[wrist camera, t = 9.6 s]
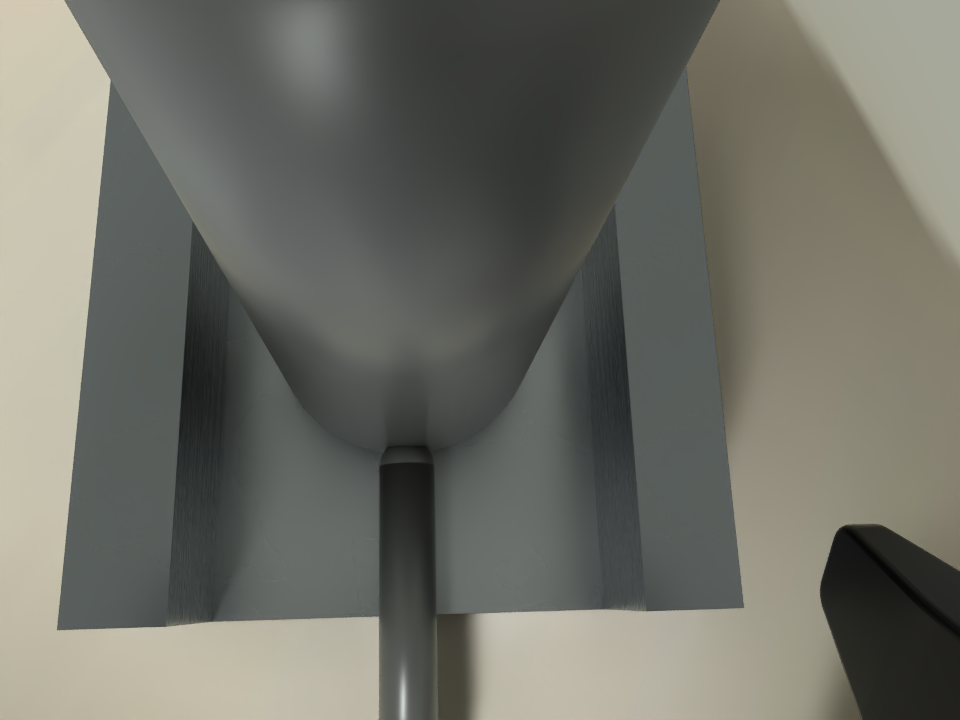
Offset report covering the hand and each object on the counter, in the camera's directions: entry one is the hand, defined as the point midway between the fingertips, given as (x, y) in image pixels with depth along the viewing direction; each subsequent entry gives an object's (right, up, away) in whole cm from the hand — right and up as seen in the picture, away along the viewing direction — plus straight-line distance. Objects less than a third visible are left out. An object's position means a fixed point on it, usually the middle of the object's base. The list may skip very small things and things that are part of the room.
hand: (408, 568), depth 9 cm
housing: (-1, +3, +9) cm, 10 cm away
